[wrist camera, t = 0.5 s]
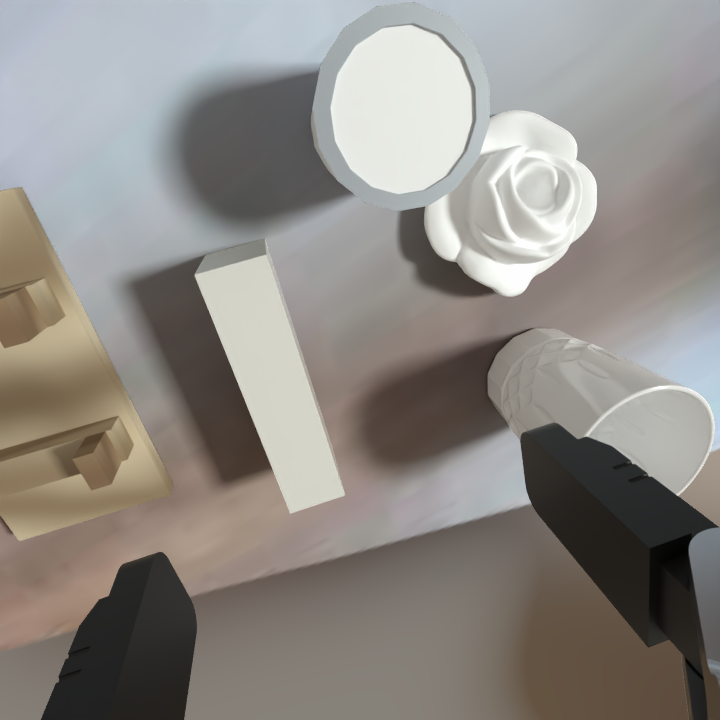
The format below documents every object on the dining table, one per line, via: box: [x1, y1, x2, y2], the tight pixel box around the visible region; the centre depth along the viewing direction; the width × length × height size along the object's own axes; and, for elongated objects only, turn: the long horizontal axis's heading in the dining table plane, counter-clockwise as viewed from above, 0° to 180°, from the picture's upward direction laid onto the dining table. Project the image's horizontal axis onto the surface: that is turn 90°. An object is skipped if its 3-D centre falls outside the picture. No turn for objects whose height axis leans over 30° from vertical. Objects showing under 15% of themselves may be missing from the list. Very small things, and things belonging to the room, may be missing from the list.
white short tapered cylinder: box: [310, 2, 490, 211], centre depth 20 cm, size 7×7×7 cm
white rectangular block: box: [195, 238, 345, 514], centre depth 25 cm, size 14×3×5 cm, turn 14°
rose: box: [424, 110, 597, 297], centre depth 25 cm, size 10×4×10 cm
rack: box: [0, 187, 173, 541], centre depth 23 cm, size 18×9×4 cm, turn 13°
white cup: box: [487, 328, 715, 496], centre depth 27 cm, size 8×8×10 cm
